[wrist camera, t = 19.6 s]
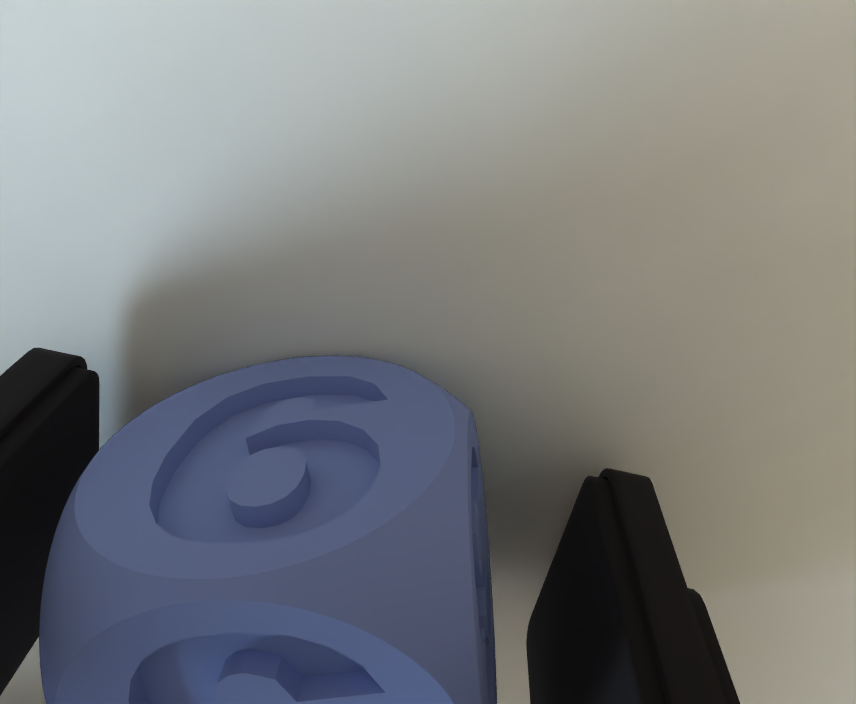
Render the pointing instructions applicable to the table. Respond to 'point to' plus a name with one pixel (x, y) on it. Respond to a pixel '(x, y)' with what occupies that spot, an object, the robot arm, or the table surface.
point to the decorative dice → (278, 547)
